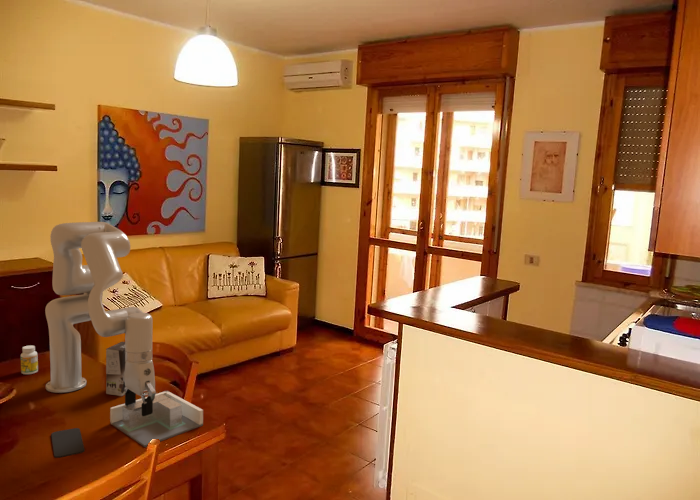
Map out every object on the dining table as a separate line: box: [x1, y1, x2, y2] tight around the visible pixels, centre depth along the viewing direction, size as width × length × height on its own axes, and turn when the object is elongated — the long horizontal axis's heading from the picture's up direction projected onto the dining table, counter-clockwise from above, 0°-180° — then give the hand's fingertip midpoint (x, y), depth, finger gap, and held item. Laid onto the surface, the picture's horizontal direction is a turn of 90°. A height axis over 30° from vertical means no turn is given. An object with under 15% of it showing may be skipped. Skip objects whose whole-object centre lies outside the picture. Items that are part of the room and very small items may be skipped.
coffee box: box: [105, 341, 126, 397], centre depth 186 cm, size 9×6×16 cm
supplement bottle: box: [20, 344, 39, 375], centre depth 199 cm, size 5×5×10 cm
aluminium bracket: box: [122, 394, 182, 430], centre depth 162 cm, size 13×11×6 cm
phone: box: [50, 427, 86, 459], centre depth 151 cm, size 7×1×15 cm
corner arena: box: [109, 390, 204, 448], centre depth 164 cm, size 20×19×5 cm
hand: (138, 409), depth 162 cm, fingers open, 9 cm apart
